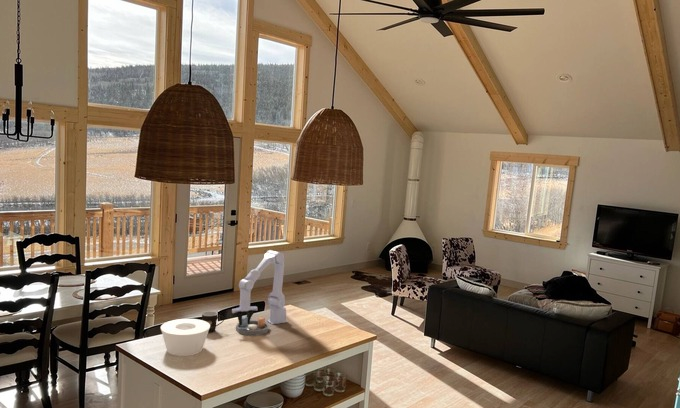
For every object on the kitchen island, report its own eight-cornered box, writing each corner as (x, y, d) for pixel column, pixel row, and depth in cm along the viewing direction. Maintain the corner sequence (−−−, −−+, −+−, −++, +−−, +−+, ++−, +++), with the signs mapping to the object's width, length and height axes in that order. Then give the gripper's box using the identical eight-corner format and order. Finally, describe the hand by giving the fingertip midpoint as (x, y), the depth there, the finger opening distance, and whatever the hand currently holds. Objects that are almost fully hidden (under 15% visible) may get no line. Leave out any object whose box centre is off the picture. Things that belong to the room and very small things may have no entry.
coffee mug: (198, 332, 286) (198, 314, 285) (206, 327, 294) (207, 310, 293) (216, 335, 283) (217, 317, 282) (224, 330, 291) (225, 313, 290)
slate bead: (245, 324, 295) (246, 316, 294) (248, 327, 291) (248, 318, 291) (239, 325, 293) (239, 317, 292) (241, 327, 289) (242, 319, 289)
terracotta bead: (262, 325, 300) (263, 317, 300) (265, 327, 297) (266, 319, 297) (256, 326, 298) (256, 318, 298) (259, 328, 295) (259, 320, 294)
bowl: (218, 351, 261) (218, 328, 259) (172, 362, 244) (173, 338, 243) (195, 337, 278) (196, 315, 277) (151, 346, 262) (152, 323, 260)
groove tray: (260, 323, 307) (261, 319, 307) (273, 333, 292) (273, 328, 292) (231, 326, 298) (232, 322, 298) (243, 337, 283) (243, 332, 282)
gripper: (254, 297, 298) (253, 320, 299) (230, 299, 290) (229, 323, 291) (259, 300, 292) (258, 323, 293) (234, 303, 284) (233, 327, 285)
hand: (244, 323), depth 292 cm, fingers closed on slate bead, 4 cm apart
